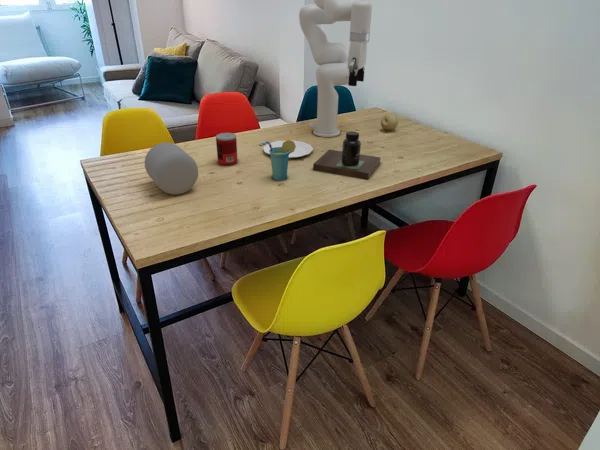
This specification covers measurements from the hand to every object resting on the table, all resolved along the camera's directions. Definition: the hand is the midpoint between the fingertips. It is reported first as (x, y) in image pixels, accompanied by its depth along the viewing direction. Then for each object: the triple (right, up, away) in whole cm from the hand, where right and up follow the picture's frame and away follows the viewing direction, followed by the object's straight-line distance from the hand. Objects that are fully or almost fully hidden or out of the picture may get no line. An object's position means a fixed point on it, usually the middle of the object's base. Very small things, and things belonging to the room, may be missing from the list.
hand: (356, 83), depth 180 cm
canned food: (-51, -32, 0) cm, 60 cm away
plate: (-28, -26, +12) cm, 39 cm away
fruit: (+21, -11, +39) cm, 46 cm away
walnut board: (-4, -34, -2) cm, 34 cm away
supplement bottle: (-3, -33, -6) cm, 34 cm away
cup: (-31, -39, -13) cm, 52 cm away
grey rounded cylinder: (-71, -42, -19) cm, 85 cm away
